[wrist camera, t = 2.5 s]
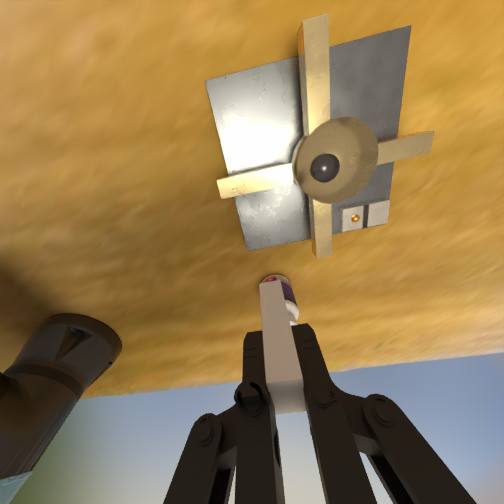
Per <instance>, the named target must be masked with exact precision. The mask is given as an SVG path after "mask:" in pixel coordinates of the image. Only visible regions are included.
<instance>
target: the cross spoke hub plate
mask: <svg viewBox="0 0 504 504" xmlns="http://www.w3.org/2000/svg"><path fill="white" fill-rule="evenodd" d="M410 32H411V25H410V26H406V27H402V28H399V29H395V30H391V31H388V32H384V33H380V34H377V35H373V36H369V37H365V38H362V39H358V40H354V41H351V42H347V43H343V44H340V45H336V46H332V47H329V68H330V120H332V119H335V118H339V117H355V118H358V119H360V120H362V121H364V122H365V123H367V124H368V125H369V126H370V127H371V129H372V130H373V132H374V133H375V136H376V138H377V142H378V141H382V140H387V139H391V138H395V137H397V134H398V126H399V118H400V110H401V102H402V95H403V87H404V79H405V71H406V63H407V56H408V48H409V40H410ZM205 82H206V86H207V90H208V94H209V98H210V102H211V106H212V110H213V114H214V118H215V122H216V126H217V130H218V134H219V138H220V142H221V146H222V150H223V154H224V158H225V162H226V166H227V170H228V174H229V175H234V174H238V173H243V172H247V171H251V170H256V169H260V168H264V167H269V166H273V165H277V164H282V163H286V162H289V163H291V162H292V156H293V152H294V149H295V147H296V145H297V143H298V141H299V140H300V139H301V137H302V136H303V135H304V126H303V112H302V98H301V83H300V69H299V56H295V57H292V58H288V59H284V60H280V61H277V62H273V63H269V64H266V65H262V66H258V67H255V68H251V69H247V70H244V71H240V72H236V73H232V74H229V75H225V76H221V77H218V78H214V79H210V80H207V81H205ZM393 165H394V161H393V162H389V163H384V164H379V165H376V168H375V170H374V173H373V175H372V177H371V178H370V180H369V181H368V183H367V184H366V185H365V187H364V188H363V189H362V190H361V191H360V192H358V193H357V194H356V195H354V196H353V197H351V198H350V199H348V200H345V201H343V202H339V203H334V204H331V213H332V234H337V233H343V232H348V231H353V230H358V229H363V228H368V227H373V226H378V225H383V224H386V223H387V222H388V214H389V206H390V200H389V196H390V188H391V181H392V173H393ZM234 198H235V202H236V206H237V210H238V214H239V218H240V222H241V226H242V230H243V234H244V238H245V242H246V246H247V250H248V251H251V250H256V249H261V248H266V247H271V246H276V245H281V244H286V243H292V242H297V241H302V240H307V239H311V227H310V213H309V198H308V195H307V194H306V193H305V192H303V191H302V190H301V189H300V188H299V187H298V186H297V184H296V183H295V181H294V178H293V184H288V185H284V186H279V187H275V188H270V189H266V190H261V191H257V192H252V193H248V194H243V195H238V196H234Z"/></svg>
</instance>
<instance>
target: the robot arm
mask: <svg viewBox="0 0 504 504" xmlns="http://www.w3.org/2000/svg"><path fill="white" fill-rule="evenodd" d="M259 289H260V303H261V318H262V330H261V331H255V332H248V333H247V334H246V337H245V339H244V343H243V377H242V383H241V384H240V385H239V386H238V387H237V389H236V391H235V395H234V400H235V402H236V404H235V405H234V406H233V407H231V408H229V409H228V410H226V411H224V412H222V413H220V414H219V415H217V416H216V415H214V414H212V413H208V414H204V415H203V416H201V417H200V418H199V419H198V420H197V421H196V422H195V423H194V425H193V427H192V429H191V431H190V434H189V436H188V439H187V442H186V444H185V447H184V450H183V452H182V455H181V458H180V460H179V463H178V466H177V468H176V471H175V473H174V476H173V479H172V482H171V484H170V487H169V489H168V492H167V495H166V497H165V500H164V503H163V504H228V501H229V496H230V491H231V486H232V481H233V476H234V471H235V466H236V482H235V504H285V496H284V487H283V477H282V467H281V457H280V448H279V437H278V430H277V426H276V418H275V414H282V413H291V412H300V411H307V414H308V419H309V424H310V432H311V435H312V440H313V444H314V448H315V453H316V458H317V463H318V467H319V473H320V477H321V482H322V487H323V491H324V496H325V501H326V504H377V501H376V499H375V496H374V493H373V490H372V487H371V485H370V482H369V479H368V476H367V473H366V471H365V468H364V465H363V462H362V459H361V457H360V454H359V452H362V453H365V454H366V456H367V458H368V459H369V461H370V463H371V465H372V466H373V468H374V470H375V472H376V474H377V475H378V477H379V479H380V481H381V482H382V484H383V486H384V488H385V490H386V491H387V493H388V495H389V497H390V498H391V500H392V502H393V504H477V503H476V502H475V501H474V500H473V498H472V497H471V496H470V495H469V493H468V492H467V491H466V490H465V488H464V487H463V486H462V485H461V483H460V482H459V481H458V480H457V478H456V477H455V476H454V475H453V473H452V472H451V471H450V470H449V469H448V467H447V466H446V465H445V464H444V462H443V461H442V460H441V459H440V457H439V456H438V455H437V454H436V452H435V451H434V450H433V449H432V447H431V446H430V445H429V444H428V442H427V441H426V440H425V439H424V437H423V436H422V435H421V434H420V433H419V431H418V430H417V429H416V427H415V426H414V425H413V424H412V423H411V421H410V420H409V419H408V418H407V416H406V415H405V414H404V413H403V411H402V410H401V409H400V408H399V407H398V406H397V405H396V404H395V403H394V402H393V401H392V400H391V399H389V398H387V397H386V396H384V395H379V394H371V395H369V396H368V397H366V398H363V397H359V396H355V395H351V394H348V393H345V392H343V391H342V390H340V389H339V388H338V387H337V386H336V385H335V384H334V383H333V382H332V380H331V378H330V376H329V373H328V370H327V367H326V364H325V361H324V358H323V356H322V353H321V350H320V347H319V344H318V341H317V338H316V335H315V333H314V330H313V329H312V328H311V327H310V326H309V324H308V323H305V324H299V325H292V326H291V325H290V321H289V316H288V312H287V308H286V303H285V299H284V295H283V290H282V286H281V281H280V280H277V281H271V282H265V283H259ZM121 348H122V347H121V342H120V339H119V338H118V336H117V335H116V334H115V333H114V332H113V331H112V330H111V329H110V328H109V327H107V326H106V325H104V324H103V323H101V322H99V321H97V320H94V319H92V318H89V317H85V316H81V315H75V314H60V315H55V316H52V317H50V318H48V319H46V320H45V321H44V322H43V323H42V324H40V325H39V326H38V327H37V328H36V329H35V330H34V331H33V333H32V334H31V336H30V338H29V339H28V341H27V342H26V344H25V345H24V347H23V348H22V350H21V352H20V353H19V355H18V356H17V358H16V360H15V361H14V363H13V364H12V365H11V366H10V367H9V368H8V369H7V370H6V371H5V372H4V373H3V374H2V373H1V372H0V504H9V503H10V501H11V500H12V498H13V497H14V496H15V494H16V493H17V491H18V490H19V489H20V487H21V486H22V485H23V483H24V482H25V481H26V479H27V478H28V477H29V476H30V475H31V474H32V472H33V471H34V470H33V469H34V467H35V465H36V464H37V463H38V461H39V460H40V457H41V456H42V455H43V453H44V452H45V450H46V449H47V447H48V446H49V444H50V443H51V441H52V440H53V438H54V437H55V435H56V434H57V432H58V430H59V429H60V428H61V426H62V425H63V423H64V421H65V420H66V418H67V417H68V415H69V414H70V412H71V411H72V409H73V408H74V406H75V405H76V403H77V402H78V400H79V399H80V397H81V396H82V394H83V393H84V391H85V390H86V389H87V388H88V387H89V386H90V385H91V384H92V383H93V382H94V381H95V380H97V379H98V378H99V377H100V376H101V375H102V374H103V373H104V372H105V371H106V370H107V369H108V368H109V367H110V366H111V365H112V364H113V363H114V362H115V360H116V359H117V357H118V355H119V354H120V352H121Z"/></svg>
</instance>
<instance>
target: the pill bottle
mask: <svg viewBox="0 0 504 504" xmlns="http://www.w3.org/2000/svg"><path fill="white" fill-rule="evenodd" d="M277 280H280V281H281V286H282V290H283V295H284V299H285V303H286V308H287V312H288V316H289V321H290V325H291V326H292V325H298V324H297V319H298V316H299V311H298V307H297V304H296V301H295V297H294V294H293V291H292V288H291V284H290V282H289V280H288V279H287V278H286V277H285V276H282V275H278V274H274V275H270V276H268V277H266V278H265V279H264V280H263V281H262V283H265V282H271V281H277Z"/></svg>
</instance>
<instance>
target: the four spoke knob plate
mask: <svg viewBox="0 0 504 504" xmlns="http://www.w3.org/2000/svg"><path fill="white" fill-rule="evenodd" d="M297 40H298V54H299V69H300V83H301V98H302V112H303V126H304V135H303V136H302V137H301V139H300V140H299V141H298V143H297V145H296V147H295V149H294V152H293V156H292V162H291V163H289V162H286V163H282V164H277V165H273V166H269V167H264V168H260V169H256V170H251V171H247V172H243V173H238V174H234V175H229V176H225V177H221V178H218V179H217V184H218V188H219V191H220V195H221V198H222V199H225V198H229V197H234V196H238V195H243V194H248V193H252V192H257V191H261V190H266V189H270V188H275V187H279V186H284V185H288V184H293V178H294V181H295V183H296V184H297V186H298V187H299V188H300V189H301V190H302V191H303V192H305V193H306V194H307V195H308V198H309V213H310V227H311V241H312V252H313V253H314V255H315V256H316V258H320V257H326V256H331V255H332V213H331V204H334V203H339V202H343V201H345V200H348V199H350V198H351V197H353V196H354V195H356V194H357V193H358V192H360V191H361V190H362V189H363V188H364V187H365V185H366V184H367V183H368V181H369V180H370V178H371V177H372V175H373V173H374V170H375V168H376V165H379V164H384V163H389V162H393V161H398V160H402V159H407V158H411V157H416V156H420V155H425V154H429V153H430V150H431V145H432V141H433V136H434V131H427V132H417V133H413V134H408V135H404V136H400V137H395V138H391V139H387V140H382V141H378V142H377V138H376V136H375V133H374V132H373V130H372V129H371V127H370V126H369V125H368V124H367V123H365V122H364V121H362V120H360V119H358V118H355V117H339V118H335V119H332V120H330V68H329V13H326V14H323V15H319V16H315V17H312V18H308V19H305V20H303V21H302V23H301V25H300V28H299V30H298V32H297Z"/></svg>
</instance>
